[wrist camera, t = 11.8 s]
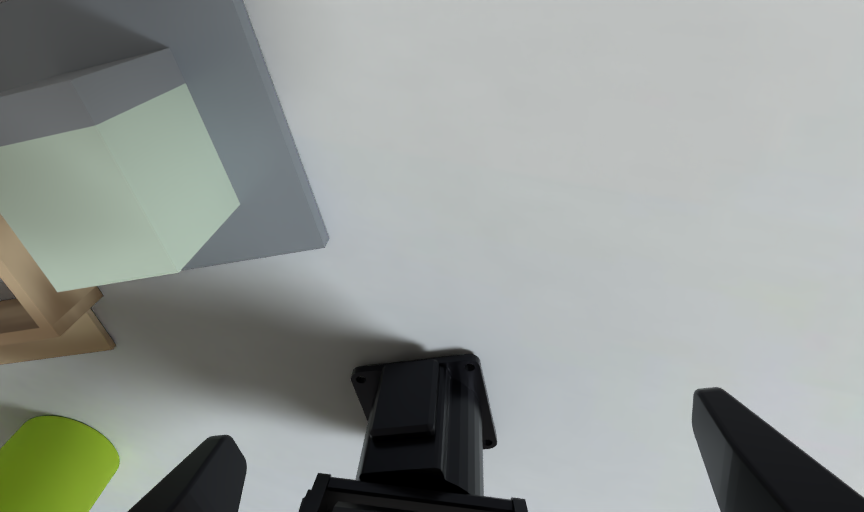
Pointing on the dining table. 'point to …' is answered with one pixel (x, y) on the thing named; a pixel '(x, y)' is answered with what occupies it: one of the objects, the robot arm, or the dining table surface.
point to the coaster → (212, 94)
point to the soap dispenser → (55, 466)
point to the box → (110, 172)
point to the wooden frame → (43, 310)
